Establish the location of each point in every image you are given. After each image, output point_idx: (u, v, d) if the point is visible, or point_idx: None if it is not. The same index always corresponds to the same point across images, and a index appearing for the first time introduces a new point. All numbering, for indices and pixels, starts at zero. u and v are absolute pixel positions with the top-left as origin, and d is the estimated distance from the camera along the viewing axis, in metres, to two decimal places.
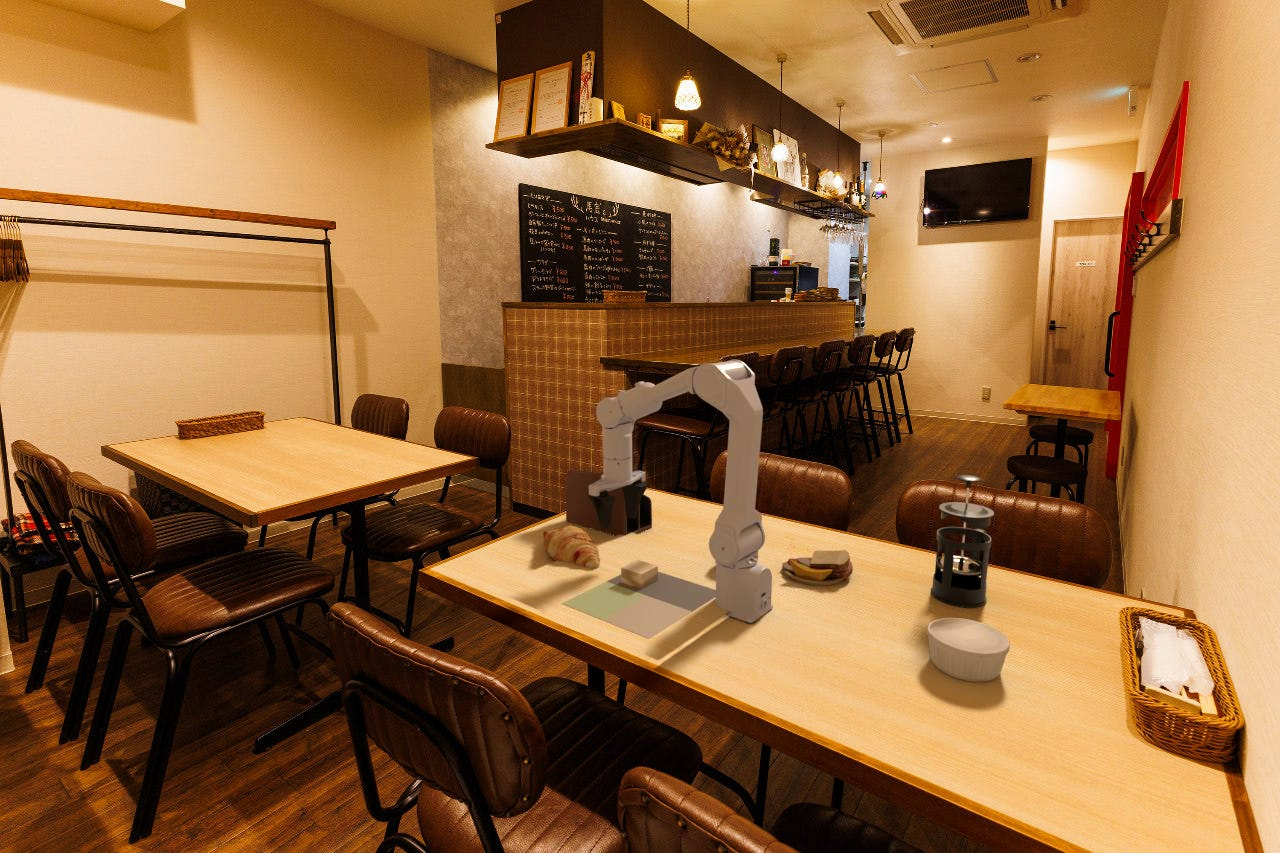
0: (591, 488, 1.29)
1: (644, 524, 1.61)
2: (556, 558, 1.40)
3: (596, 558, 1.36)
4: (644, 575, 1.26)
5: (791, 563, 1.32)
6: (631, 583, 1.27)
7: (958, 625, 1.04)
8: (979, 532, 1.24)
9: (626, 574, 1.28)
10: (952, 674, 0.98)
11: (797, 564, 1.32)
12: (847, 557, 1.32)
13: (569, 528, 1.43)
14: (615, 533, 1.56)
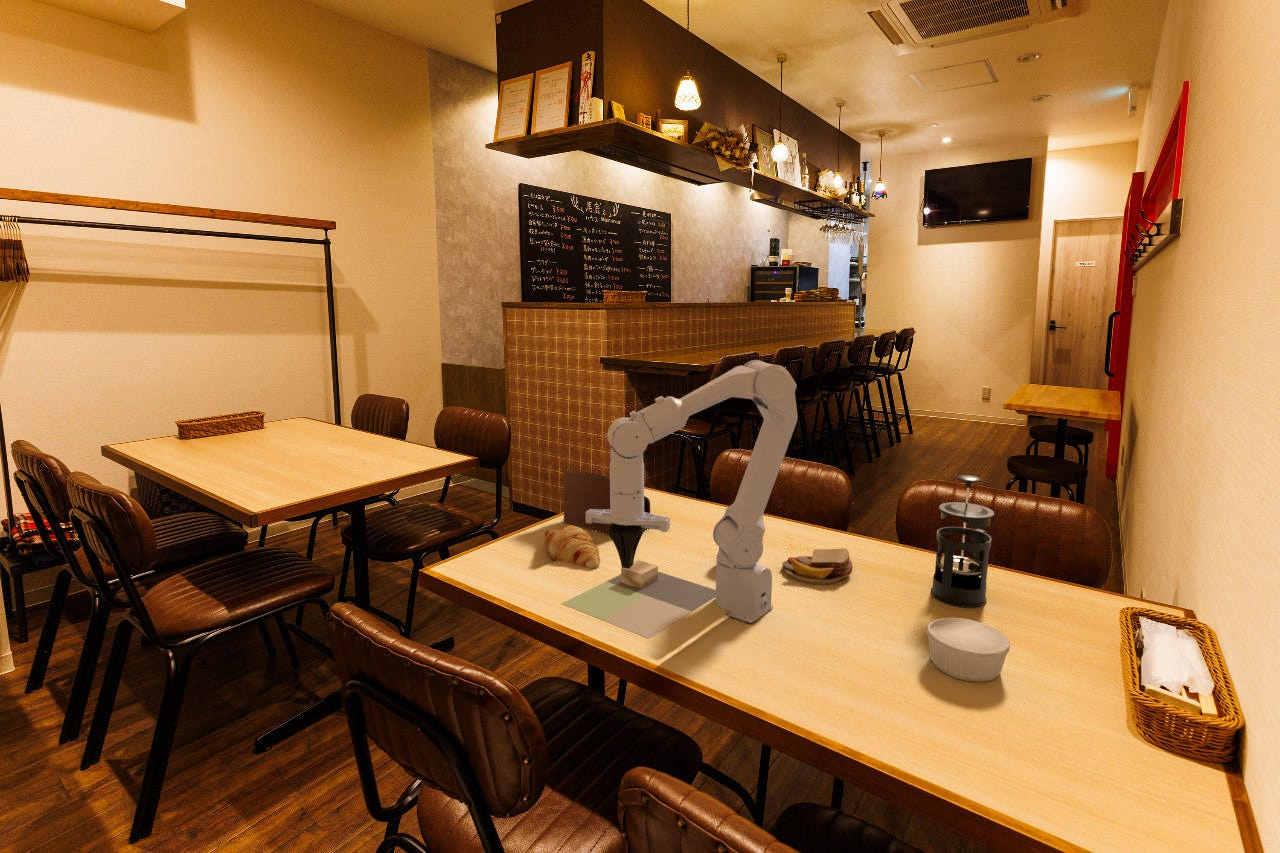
0: None
1: None
2: (556, 558, 1.40)
3: (596, 558, 1.36)
4: (644, 575, 1.26)
5: (792, 562, 1.32)
6: (631, 583, 1.27)
7: (958, 625, 1.04)
8: (979, 532, 1.24)
9: (626, 574, 1.28)
10: (952, 674, 0.98)
11: (798, 563, 1.32)
12: (847, 555, 1.33)
13: (570, 528, 1.43)
14: None
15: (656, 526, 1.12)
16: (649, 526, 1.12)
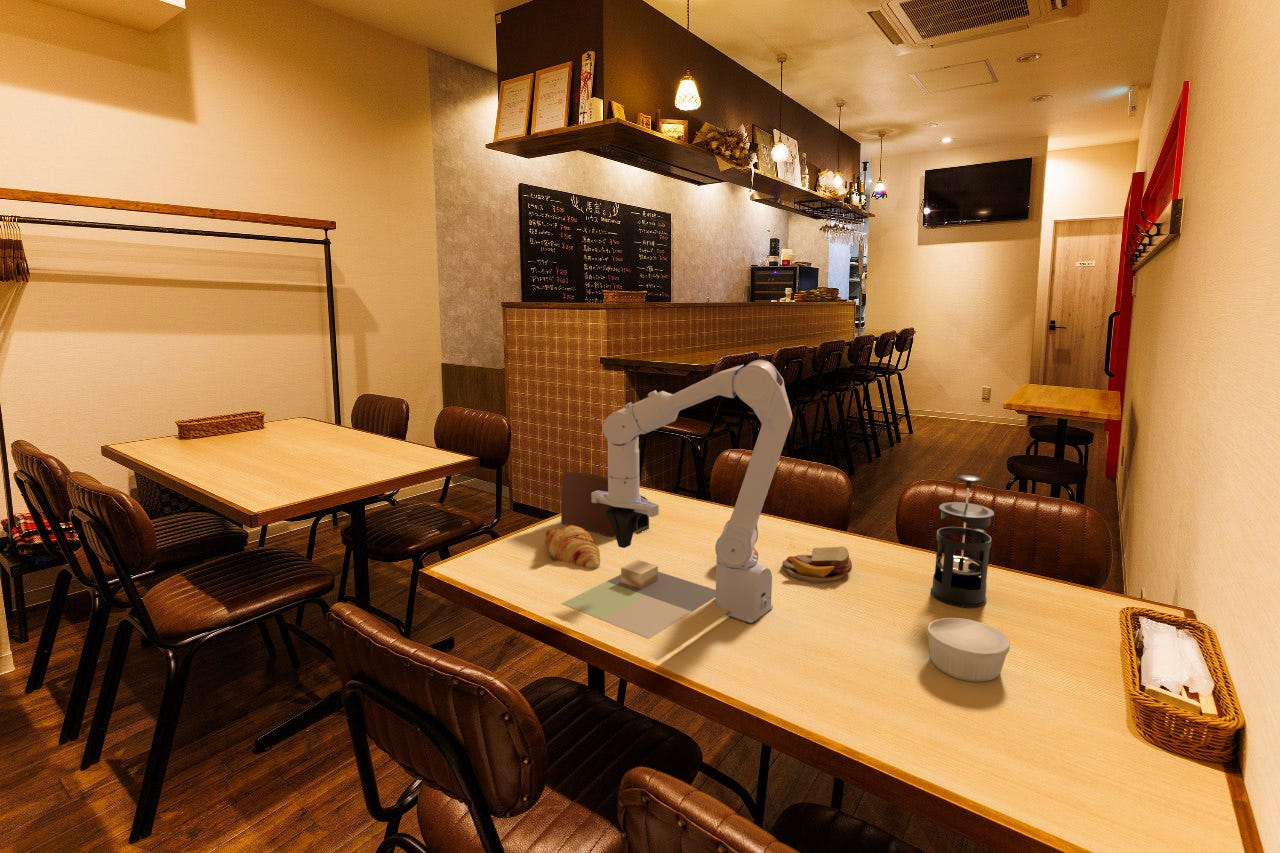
0: None
1: (641, 525, 1.60)
2: (557, 558, 1.40)
3: (596, 558, 1.36)
4: (644, 575, 1.26)
5: (793, 561, 1.33)
6: (631, 583, 1.27)
7: (958, 625, 1.04)
8: (979, 532, 1.24)
9: (626, 574, 1.28)
10: (952, 674, 0.98)
11: (799, 562, 1.33)
12: (847, 553, 1.34)
13: (571, 528, 1.43)
14: (613, 535, 1.55)
15: (645, 511, 1.20)
16: (640, 510, 1.20)
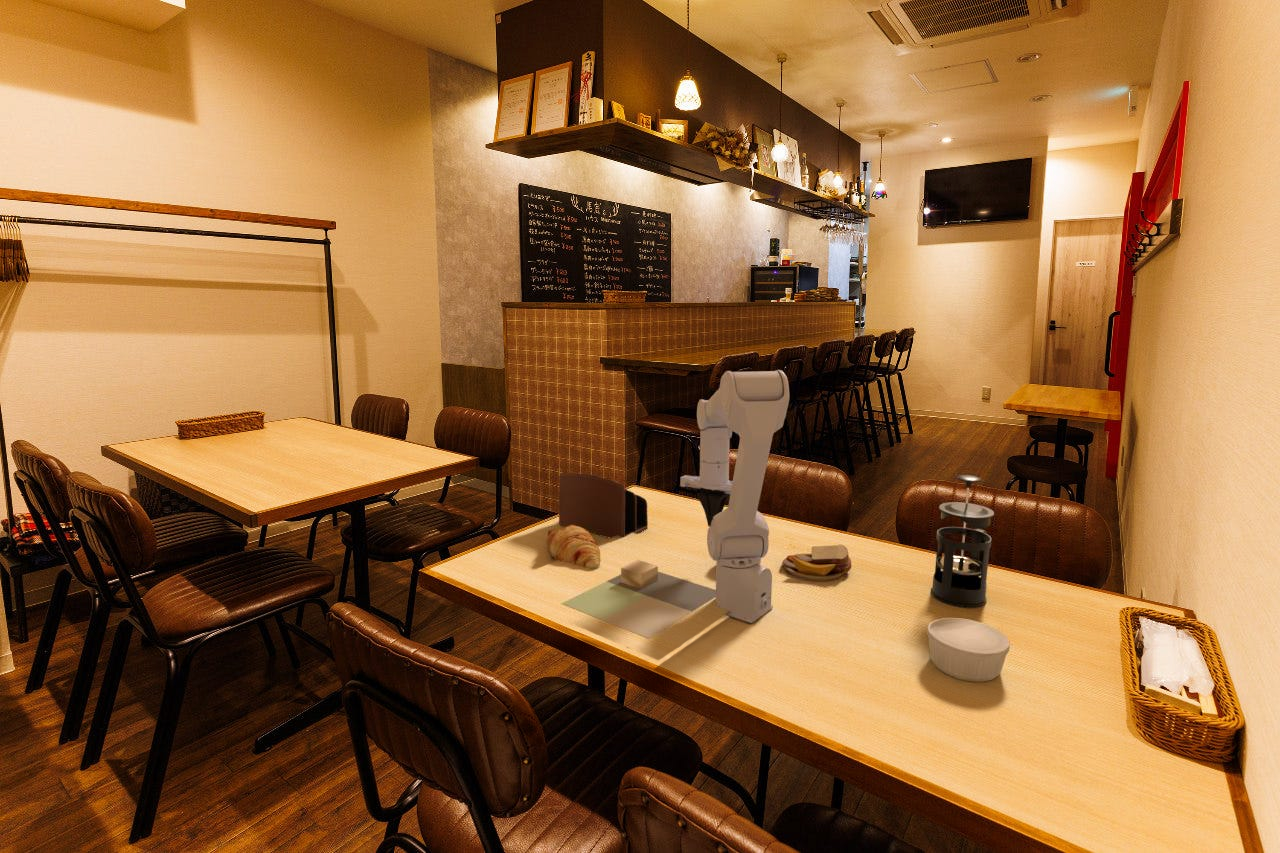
0: None
1: (640, 525, 1.60)
2: (557, 557, 1.40)
3: (596, 558, 1.36)
4: (644, 575, 1.26)
5: (794, 560, 1.33)
6: (631, 583, 1.27)
7: (958, 625, 1.04)
8: (979, 532, 1.24)
9: (626, 574, 1.28)
10: (952, 674, 0.98)
11: (799, 560, 1.33)
12: (846, 551, 1.35)
13: (572, 528, 1.43)
14: (612, 535, 1.55)
15: None
16: None
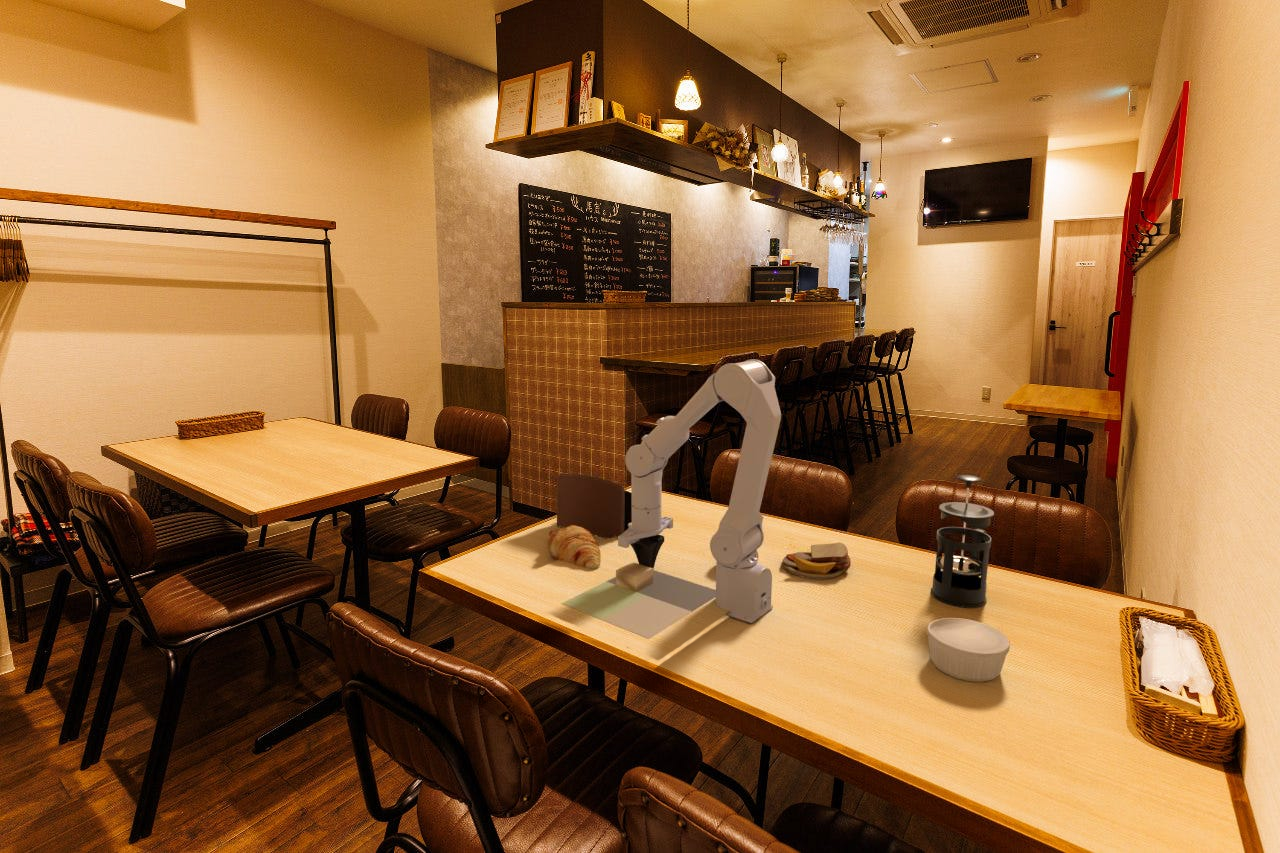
0: (621, 539, 1.24)
1: None
2: (558, 558, 1.40)
3: (596, 559, 1.36)
4: (638, 578, 1.25)
5: (794, 559, 1.34)
6: (626, 586, 1.26)
7: (958, 625, 1.04)
8: (979, 532, 1.24)
9: (621, 576, 1.26)
10: (952, 674, 0.98)
11: (800, 559, 1.34)
12: (845, 549, 1.36)
13: (572, 528, 1.43)
14: (611, 536, 1.54)
15: None
16: None
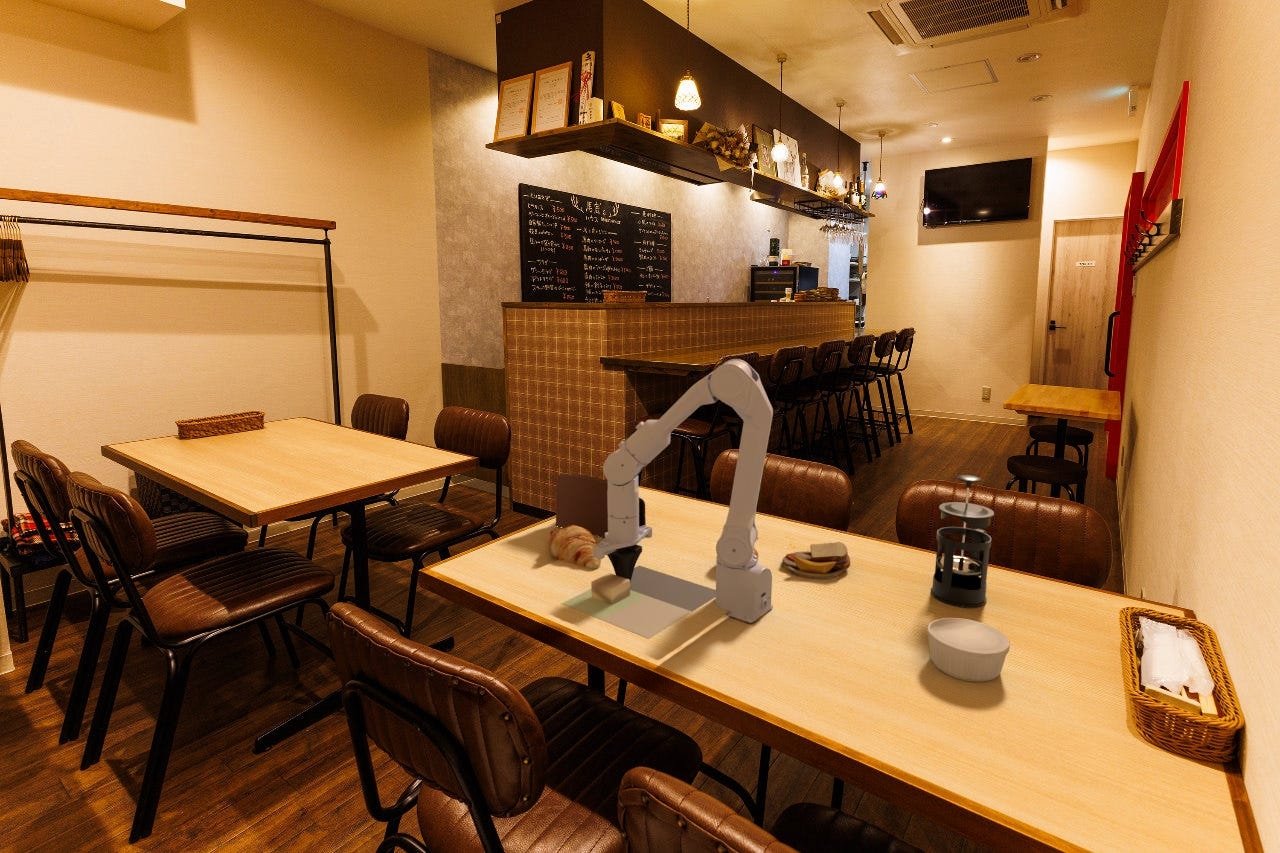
0: (595, 550, 1.18)
1: None
2: (558, 558, 1.40)
3: (596, 559, 1.36)
4: (614, 590, 1.19)
5: (795, 558, 1.34)
6: (602, 598, 1.21)
7: (958, 625, 1.04)
8: (979, 532, 1.24)
9: (596, 588, 1.21)
10: (952, 674, 0.98)
11: (800, 559, 1.34)
12: (845, 548, 1.36)
13: (573, 528, 1.43)
14: None
15: None
16: None
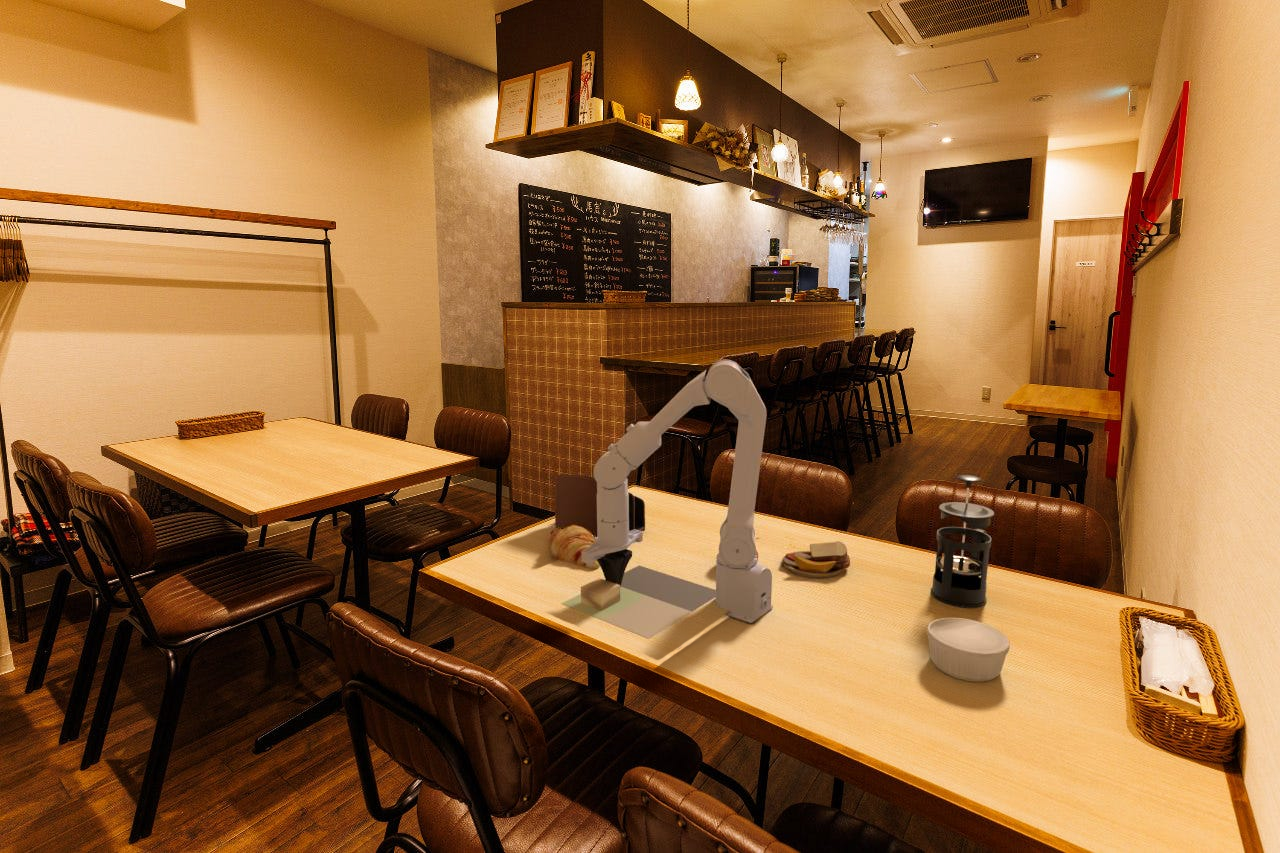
0: (584, 555, 1.16)
1: (637, 526, 1.60)
2: (558, 557, 1.40)
3: None
4: (604, 595, 1.17)
5: (795, 558, 1.34)
6: (591, 604, 1.19)
7: (958, 625, 1.04)
8: (979, 532, 1.24)
9: (586, 594, 1.19)
10: (952, 674, 0.98)
11: (800, 558, 1.34)
12: (845, 548, 1.37)
13: (573, 528, 1.43)
14: None
15: None
16: None
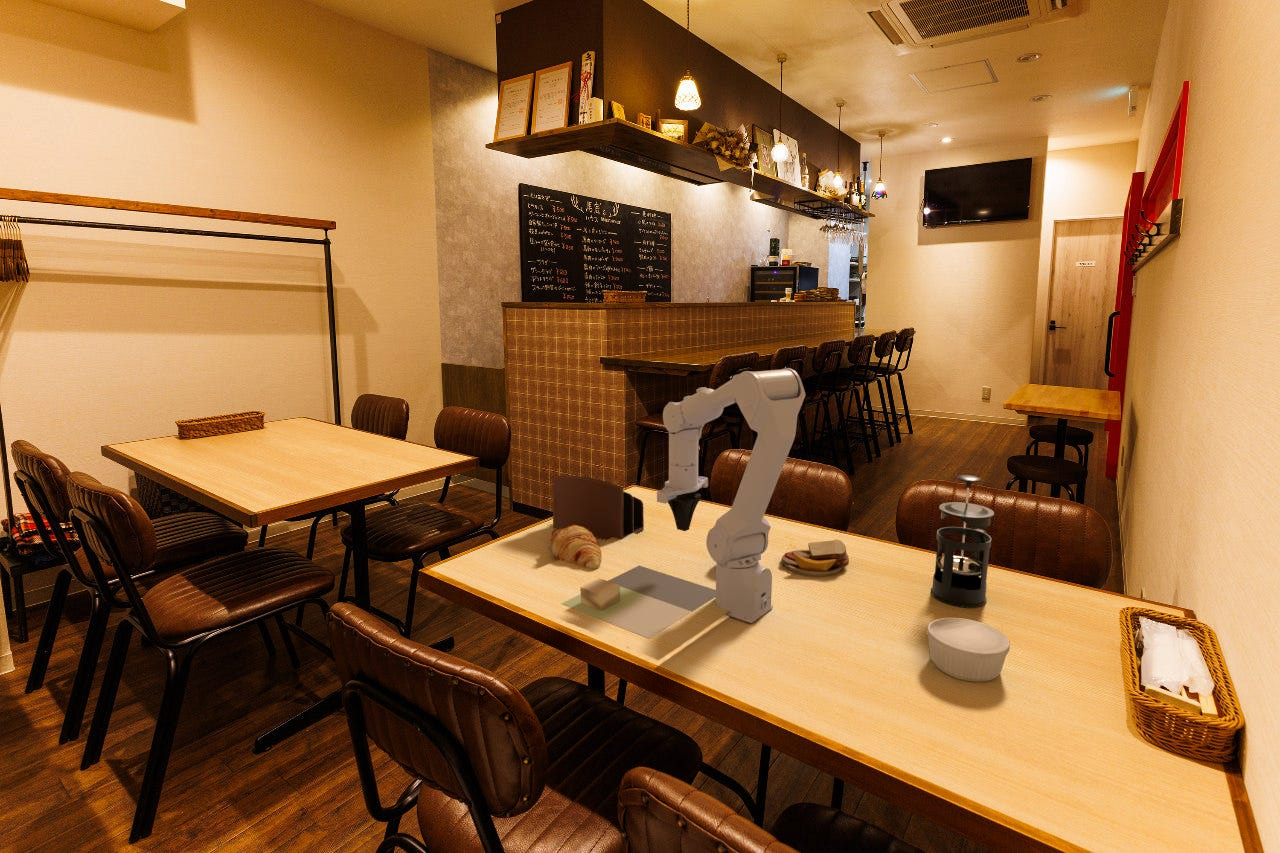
0: (659, 495, 1.26)
1: (636, 527, 1.59)
2: (559, 557, 1.40)
3: (596, 559, 1.36)
4: (604, 595, 1.17)
5: (795, 557, 1.35)
6: (591, 604, 1.19)
7: (958, 625, 1.04)
8: (979, 532, 1.24)
9: (585, 594, 1.19)
10: (952, 674, 0.98)
11: (801, 557, 1.35)
12: (844, 546, 1.38)
13: (574, 528, 1.43)
14: None
15: None
16: None
